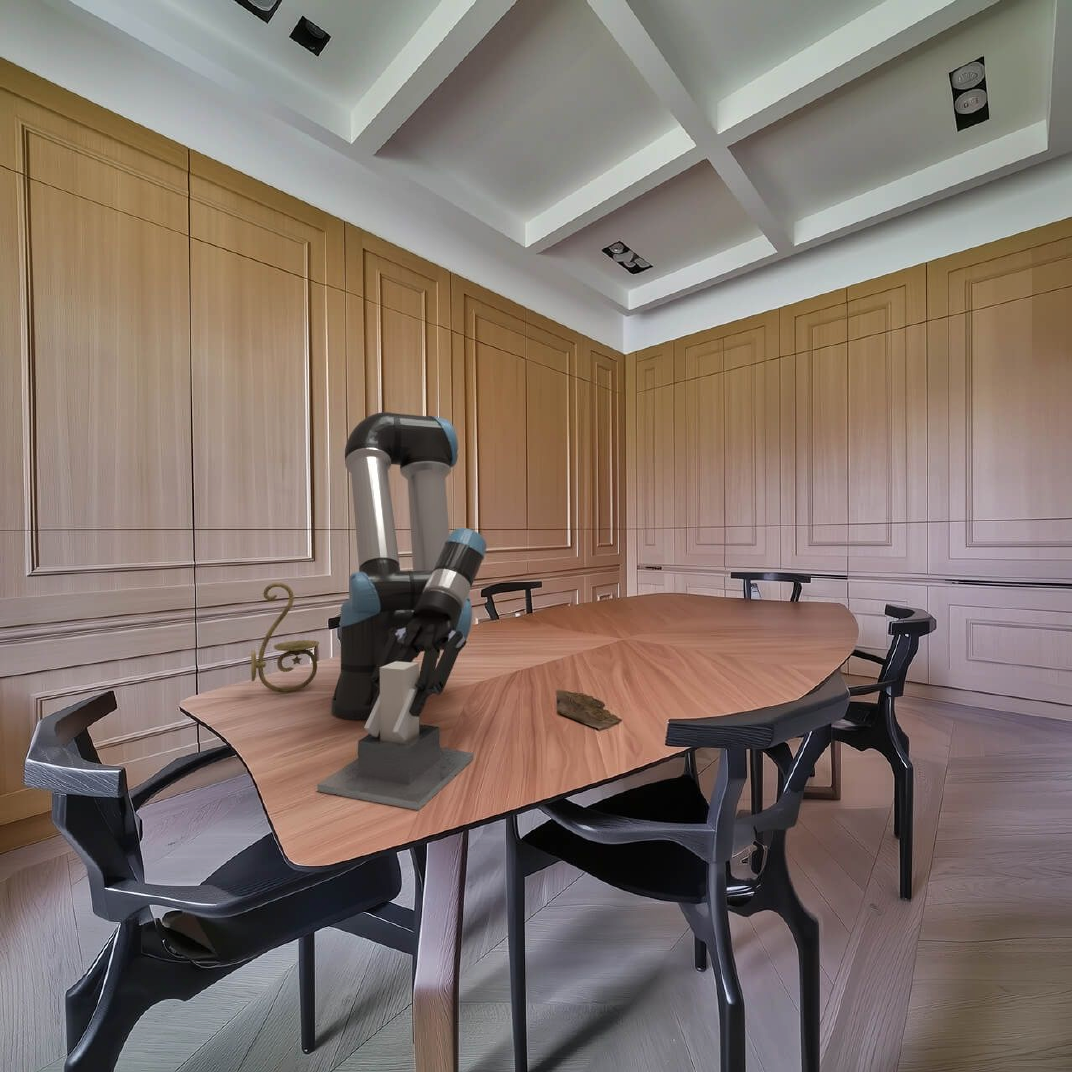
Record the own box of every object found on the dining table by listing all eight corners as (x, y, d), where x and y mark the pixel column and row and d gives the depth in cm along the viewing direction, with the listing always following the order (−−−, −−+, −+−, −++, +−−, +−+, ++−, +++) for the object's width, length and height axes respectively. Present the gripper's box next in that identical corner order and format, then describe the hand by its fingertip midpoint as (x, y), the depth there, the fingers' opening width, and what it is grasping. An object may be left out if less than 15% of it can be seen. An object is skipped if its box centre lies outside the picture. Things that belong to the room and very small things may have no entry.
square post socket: (317, 791, 71) (317, 747, 71) (386, 746, 86) (386, 710, 86) (418, 810, 66) (418, 763, 66) (473, 759, 81) (473, 721, 81)
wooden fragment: (630, 729, 94) (630, 723, 94) (572, 735, 92) (572, 729, 92) (586, 689, 119) (586, 685, 119) (540, 693, 117) (539, 688, 117)
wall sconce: (251, 703, 110) (250, 585, 110) (251, 691, 118) (250, 582, 118) (321, 693, 117) (321, 582, 117) (317, 682, 125) (316, 579, 125)
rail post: (380, 764, 75) (379, 667, 75) (396, 753, 79) (395, 661, 79) (404, 767, 74) (403, 669, 74) (419, 756, 77) (418, 663, 78)
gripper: (494, 617, 88) (447, 753, 72) (407, 613, 94) (347, 739, 78) (480, 589, 83) (427, 728, 67) (390, 587, 89) (321, 715, 73)
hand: (384, 733), depth 73 cm, fingers closed on rail post, 4 cm apart
